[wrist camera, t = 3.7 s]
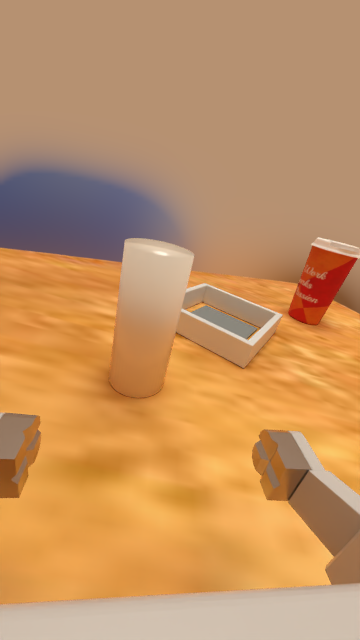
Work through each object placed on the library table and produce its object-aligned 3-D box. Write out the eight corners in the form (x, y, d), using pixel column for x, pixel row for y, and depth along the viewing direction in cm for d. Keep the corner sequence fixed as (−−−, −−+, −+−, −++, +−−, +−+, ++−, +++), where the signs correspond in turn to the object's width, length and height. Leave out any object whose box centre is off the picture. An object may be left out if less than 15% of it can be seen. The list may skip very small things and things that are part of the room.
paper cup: (276, 305, 52) (306, 234, 46) (312, 313, 52) (346, 243, 46) (291, 323, 45) (329, 241, 39) (333, 331, 45) (376, 252, 39)
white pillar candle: (138, 407, 21) (167, 261, 15) (96, 376, 23) (109, 238, 18) (174, 379, 25) (206, 255, 19) (135, 355, 27) (155, 237, 22)
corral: (243, 368, 29) (252, 346, 28) (151, 319, 35) (155, 298, 33) (275, 332, 40) (282, 314, 38) (200, 299, 45) (204, 283, 44)
